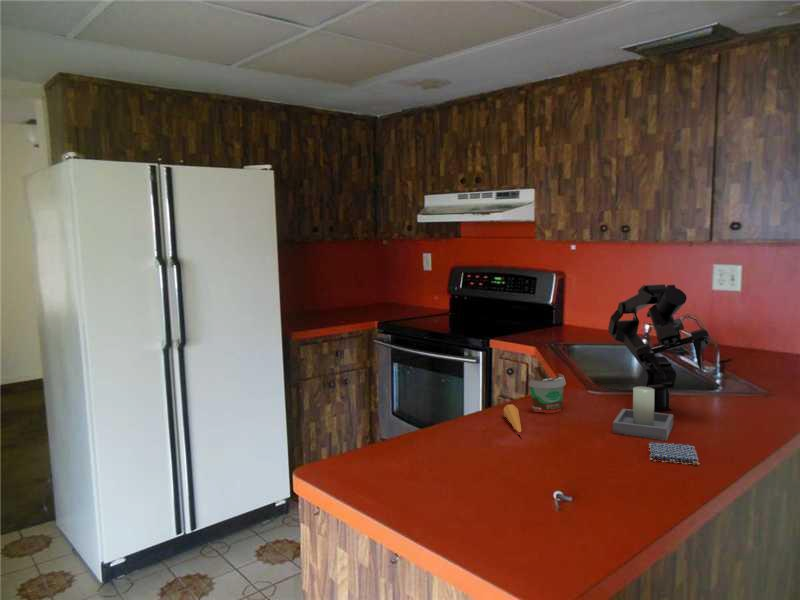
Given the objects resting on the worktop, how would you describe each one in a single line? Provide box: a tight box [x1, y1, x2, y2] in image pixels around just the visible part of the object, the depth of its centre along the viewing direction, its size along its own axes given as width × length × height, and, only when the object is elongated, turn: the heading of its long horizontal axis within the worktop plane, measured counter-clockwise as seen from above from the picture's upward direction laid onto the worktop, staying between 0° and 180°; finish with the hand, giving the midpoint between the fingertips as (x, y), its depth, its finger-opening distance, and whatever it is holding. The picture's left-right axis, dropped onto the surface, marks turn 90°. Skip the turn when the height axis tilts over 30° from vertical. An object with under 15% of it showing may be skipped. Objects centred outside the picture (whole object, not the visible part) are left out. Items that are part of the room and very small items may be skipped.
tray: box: [612, 408, 674, 442], centre depth 157 cm, size 13×13×3 cm
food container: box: [528, 373, 567, 410], centre depth 175 cm, size 12×6×10 cm, turn 117°
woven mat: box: [647, 440, 700, 466], centre depth 139 cm, size 10×11×2 cm
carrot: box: [503, 404, 522, 432], centre depth 163 cm, size 20×4×4 cm, turn 179°
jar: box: [632, 386, 655, 426], centre depth 156 cm, size 5×5×10 cm
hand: (682, 373), depth 159 cm, fingers open, 9 cm apart
